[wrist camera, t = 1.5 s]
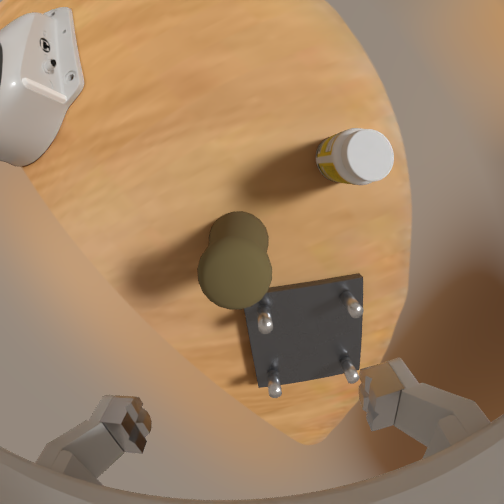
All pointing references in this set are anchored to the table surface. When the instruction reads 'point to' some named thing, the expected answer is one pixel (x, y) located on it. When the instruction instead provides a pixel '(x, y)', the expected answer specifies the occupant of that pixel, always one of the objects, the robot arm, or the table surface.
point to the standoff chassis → (307, 332)
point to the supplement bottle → (355, 156)
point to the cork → (236, 262)
